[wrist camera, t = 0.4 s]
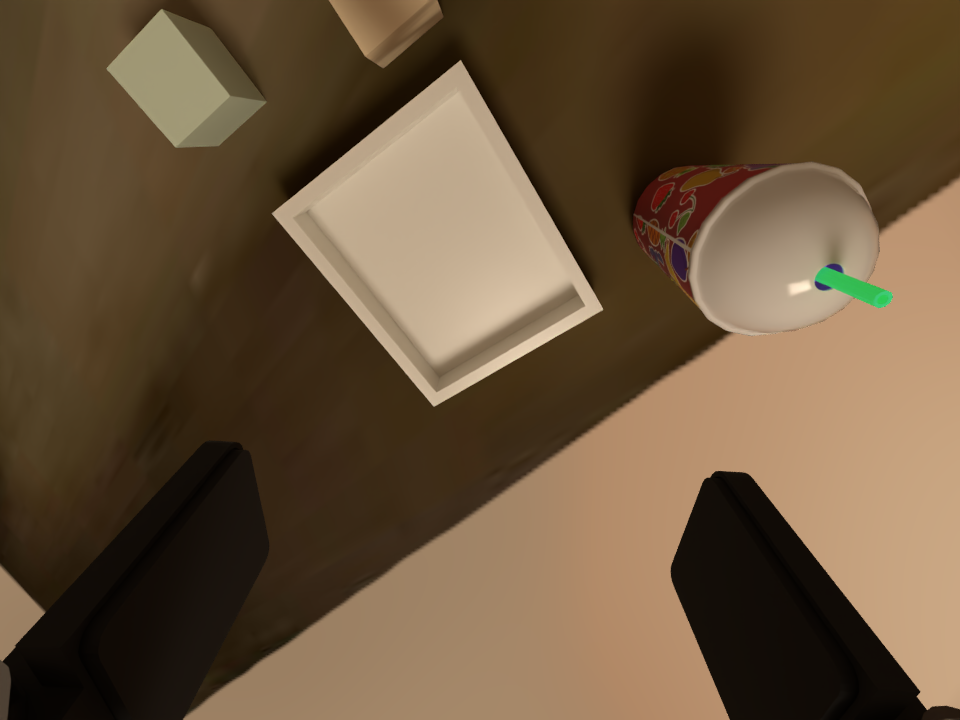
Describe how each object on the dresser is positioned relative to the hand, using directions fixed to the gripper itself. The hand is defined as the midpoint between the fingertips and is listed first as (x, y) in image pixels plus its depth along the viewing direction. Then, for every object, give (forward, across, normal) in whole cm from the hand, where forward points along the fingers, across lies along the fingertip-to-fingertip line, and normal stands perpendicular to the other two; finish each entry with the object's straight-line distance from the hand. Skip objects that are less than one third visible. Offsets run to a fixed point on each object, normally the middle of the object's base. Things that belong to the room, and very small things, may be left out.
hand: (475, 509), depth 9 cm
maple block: (+28, +7, -14) cm, 33 cm away
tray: (+28, +3, +1) cm, 29 cm away
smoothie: (+29, -14, -3) cm, 32 cm away
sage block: (+28, +19, -9) cm, 35 cm away
